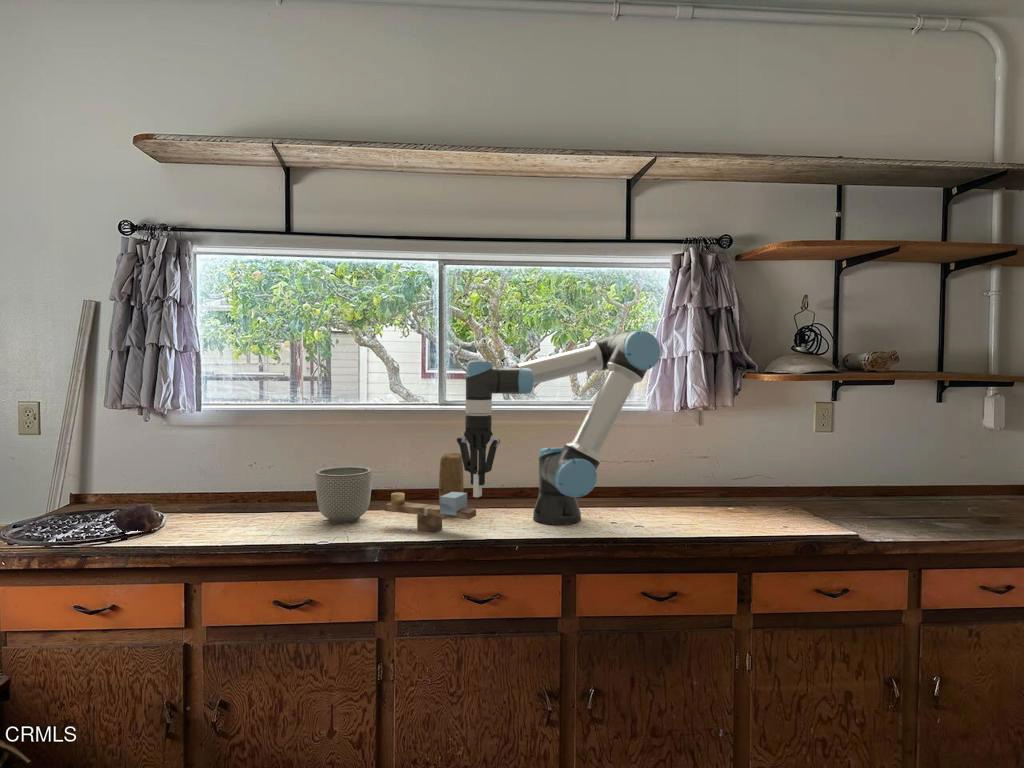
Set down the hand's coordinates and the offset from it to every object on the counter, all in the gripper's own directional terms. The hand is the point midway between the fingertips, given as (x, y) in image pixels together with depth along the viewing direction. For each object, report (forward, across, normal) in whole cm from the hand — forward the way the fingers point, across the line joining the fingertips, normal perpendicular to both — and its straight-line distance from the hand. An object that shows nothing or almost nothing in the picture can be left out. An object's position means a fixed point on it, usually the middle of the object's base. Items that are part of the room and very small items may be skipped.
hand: (477, 496), depth 181 cm
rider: (+5, +8, 0) cm, 9 cm away
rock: (+13, +93, +36) cm, 100 cm away
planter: (+12, +46, +1) cm, 47 cm away
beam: (+12, +16, 0) cm, 19 cm away
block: (+12, +19, -20) cm, 30 cm away
